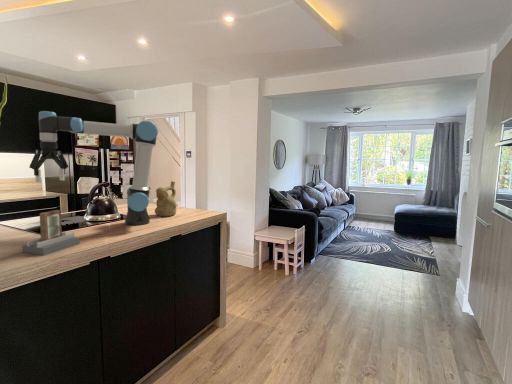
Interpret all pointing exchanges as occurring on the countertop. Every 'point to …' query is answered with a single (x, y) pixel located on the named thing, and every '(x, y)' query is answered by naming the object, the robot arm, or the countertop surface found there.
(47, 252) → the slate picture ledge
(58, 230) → the walnut photo frame
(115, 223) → the countertop surface
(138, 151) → the robot arm
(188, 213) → the countertop surface
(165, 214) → the ceramic vessel
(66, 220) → the play button award
